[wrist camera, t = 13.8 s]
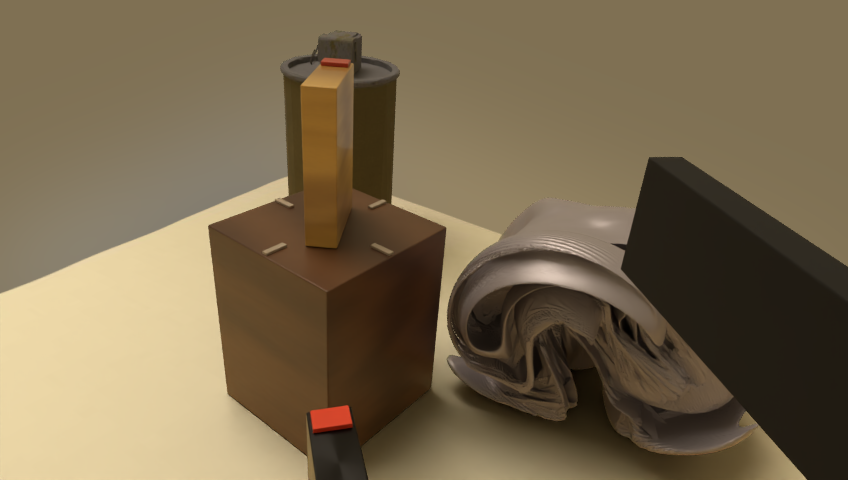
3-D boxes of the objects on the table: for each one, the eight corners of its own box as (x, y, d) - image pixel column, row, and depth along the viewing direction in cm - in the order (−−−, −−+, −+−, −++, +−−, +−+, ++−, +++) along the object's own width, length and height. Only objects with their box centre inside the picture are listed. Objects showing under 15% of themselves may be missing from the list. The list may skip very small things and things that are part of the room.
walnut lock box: (328, 473, 36) (326, 289, 30) (227, 393, 41) (207, 222, 35) (431, 388, 43) (447, 224, 37) (333, 329, 48) (332, 177, 42)
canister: (308, 210, 67) (303, 20, 57) (400, 223, 66) (411, 31, 56) (270, 258, 57) (256, 40, 48) (377, 274, 56) (385, 54, 47)
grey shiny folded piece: (729, 397, 46) (780, 210, 42) (744, 551, 31) (827, 280, 27) (484, 331, 54) (507, 166, 50) (396, 429, 38) (419, 200, 34)
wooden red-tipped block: (337, 248, 34) (337, 82, 29) (305, 246, 34) (299, 79, 29) (352, 206, 38) (353, 59, 34) (324, 204, 38) (322, 56, 34)
